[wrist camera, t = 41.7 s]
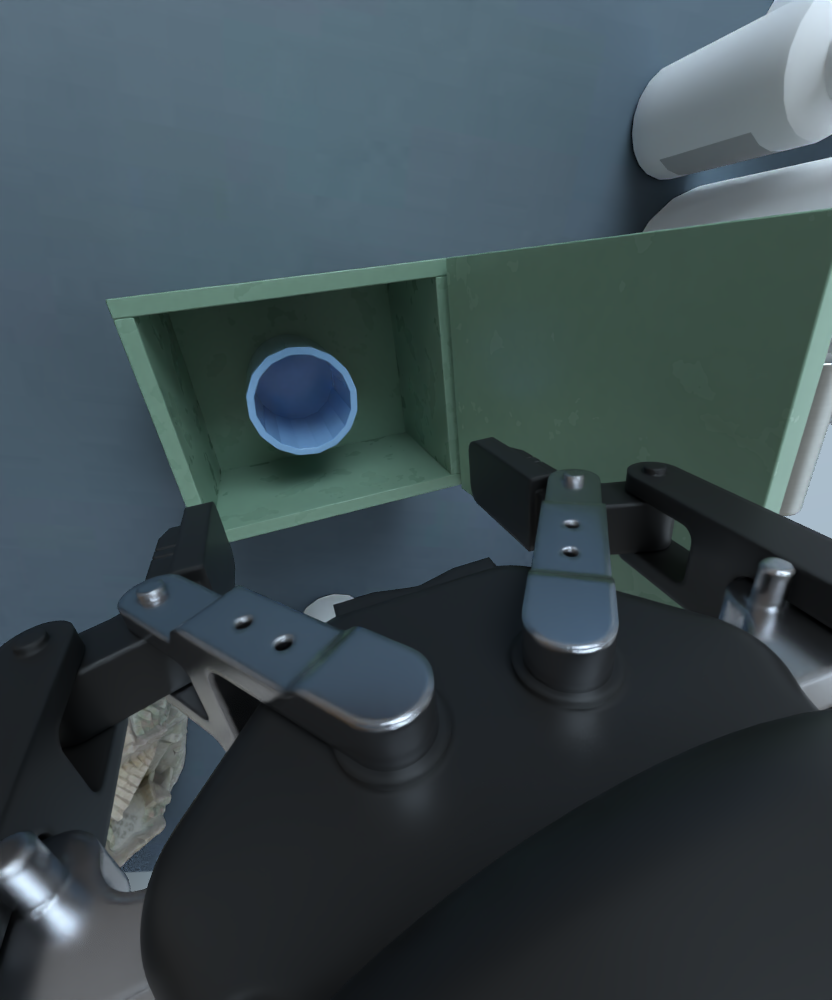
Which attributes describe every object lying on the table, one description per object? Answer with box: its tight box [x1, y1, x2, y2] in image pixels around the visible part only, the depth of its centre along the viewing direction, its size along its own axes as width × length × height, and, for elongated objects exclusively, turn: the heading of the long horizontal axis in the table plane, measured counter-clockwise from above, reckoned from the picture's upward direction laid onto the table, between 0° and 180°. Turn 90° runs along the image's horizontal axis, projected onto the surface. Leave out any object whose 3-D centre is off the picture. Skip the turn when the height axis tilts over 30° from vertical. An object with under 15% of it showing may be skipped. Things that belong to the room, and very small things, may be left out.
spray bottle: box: [632, 0, 832, 180], centre depth 26 cm, size 7×7×18 cm
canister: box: [643, 157, 832, 425], centre depth 32 cm, size 16×16×20 cm
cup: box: [246, 334, 358, 455], centre depth 28 cm, size 6×6×8 cm
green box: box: [106, 258, 461, 542], centre depth 28 cm, size 16×13×10 cm
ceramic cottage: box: [105, 697, 188, 868], centre depth 34 cm, size 16×16×15 cm
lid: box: [446, 208, 832, 609], centre depth 19 cm, size 16×13×5 cm
